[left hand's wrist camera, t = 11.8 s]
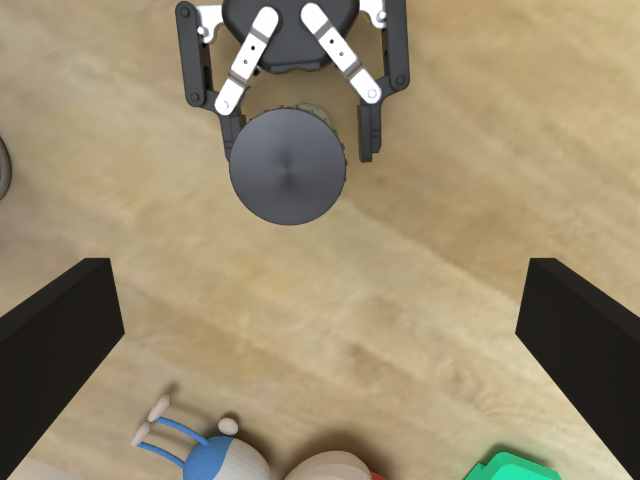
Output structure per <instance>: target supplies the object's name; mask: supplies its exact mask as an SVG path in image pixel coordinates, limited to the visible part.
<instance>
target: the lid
mask: <svg viewBox="0 0 640 480" xmlns="http://www.w3.org/2000/svg"><path fill="white" fill-rule="evenodd" d="M313 111H314V110H311V111H309V110H306V109H303V108H299V106H298V105H296V106H294V107H283V105H281V106H277V109H273V110H268V109H267V110H263V111H261V112H262V113H261V114H259V115H258V116H256V117H254V118H252V119H249V120H248V123H247V124H246V125H245V126H244V127H243V128H242V129H241V131H239V132H238V133H237V134H238V135H237V137H236V139H235V140H234V143H233V145H232V147H231V152H230V157H229V173H230V178H231V182H232V185H233V188H234V190H235V192H236V194H237V196H238V197H239V199H240V200H241V202H242V203H243V204H244V205H245V206H246V207H247V208H248V209H249V210H250V211H251V212H252V213H254V214H255V215H256V216H258V217H260V218H262V219H263V220H266V221H268V222H271V223H274V224H279V225H300V224H304V223H307V222H310V221H313V220H315V219H317V218H319V217H320V216H322V215H323V214H324V213H326V212H327V211H328V210H329V209H330V208H331V207H332V206H333V204H334V203H335V202H336V200H337V199H338V197H339V196H340V194H341V191H342V189H343V186H344V182H345V181H346V166H347V165H348V164H347V160H346V158H345V155H344V151H343V150H344V149H345V148H344V145H343V143H340V140H339V138H338V136H337V135H338V133H337V130H336V129H335V130H334V129H333V128H332V127H331V126H330V125H329V123H328V122H327V119H326V118H324V119H323V118H322V117H320V116H319V115H317V114H316V113H314V112H313Z"/></svg>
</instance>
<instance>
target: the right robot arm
mask: <svg viewBox="0 0 640 480" xmlns="http://www.w3.org/2000/svg"><path fill="white" fill-rule="evenodd" d="M358 13H363V14H365V15H366V16H367V17H368V18H369V21H370V25H371V27H372V28H373V29H375V30H378V31H379V30H381V34H382V48H383V62H384V75H385V76H384V77H381V78H379V79H377V80H375V81H374V79H373V78H372V77H371V76H370V74H369V73H368V72H367V70H366V69H365V68H364V67H363V65H362V63H361V61H360V60H359V59H358V57H357V56H356V55H355V53H354V52H353V51H352V50H351V48H350V47H349V46H348V44H347V43H346V42H345V40H344V39H345V37H346V36H347V34H348V32H349V30H350V29H351V27H352V25H353V23H354V22H355V20H356V18H357V16H358ZM175 14H176V23H177V31H178V39H179V47H180V55H181V64H182V72H183V80H184V88H185V96H186V100H187V102H188V104H189V105H191V106H193V107H200V108H203V109H207V110H210V111H213V112H214V113H216V114H217V116H218V117H219V119H220V123H221V130H222V136H223V142H224V148H225V156H226V159H227V160H228V162H229V157H230V152H231V147H232V145H233V143H234V140H235V139H236V137H237V135H238V134H237V133H238V132H239V131H241V129H242V128H243V127H244V126H245V125H246V124H247V123H246V116H245V115H242V114H241V106H242V105H243V103H244V101H245V99H246V97H247V96H248V94H249V92H250V90H251V88H252V87H253V86H254V85H255V83H256V82H257V80H258V78H259V76H260V74H261V72H262V71H263V70H265V71H267V72H270V73H272V74H286V73H289V72H291V71H294V70H297V69H298V70H303V71H308V72H311V71H320V70H321V69H323V68H325V67H326V66H328V65H329V64H330V63H332V65H333V66H334V67H335V68H336V70H337V71H338V72H339V73H340V75H341V76H342V77H343V78H344V79H345V80H346V82H347V83H348V84H349V85H350V87H351V88H352V89H353V90H354V92H355V93H356V94H357V95H358V97H359V98H360V105H357V114H358V140H359V158H360V161H361V163H366V162H372V153H379V150H380V148H381V104H382V102H383V100H384V99H385V98H386V97H388V96H390V95H392V94H394V93H396V92H398V91H401V90H404V89H406V88H407V86H408V85H409V82H410V72H409V54H408V35H407V16H406V0H224V1H223V4H222V5H212V6H195V5H193V4H191V3H189V2H187V1H181V2H179V3H178V4H177V6H176V8H175ZM222 25H225V26H226V27H227V28H228V30H229V31H230V32H231V33H232V34H233V36H234V37H235V38H236V39H237V41H238V42H239V43H240V44H241V45H242V47H241V49H240V51H239V53H238V55H237V57H236V59H235V61H234V63H233V65H232V67H231V69H230V71H229V75H228V78H227V80H226V82H225V84H224V86H223V88H222V89H221V91H220V92H218V91H214V90H213V80H212V70H211V60H210V50H209V45H211V44H213V43H214V42H215V41H216V40H217V33H218V30H219V28H220V27H221V26H222ZM9 181H10V163H9V159H8V155H7V152H6V150H5V148H4V146H3V144H2V142H1V140H0V199H1V198H2V197H3V195H4V194H5V192H6V190H7V188H8V185H9Z"/></svg>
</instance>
